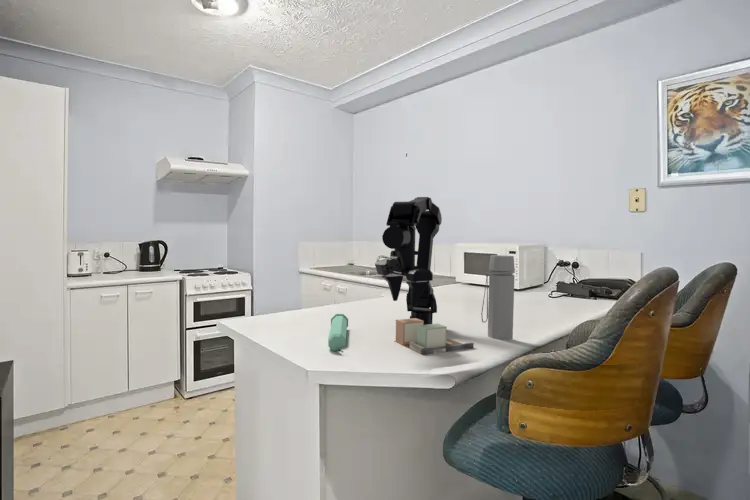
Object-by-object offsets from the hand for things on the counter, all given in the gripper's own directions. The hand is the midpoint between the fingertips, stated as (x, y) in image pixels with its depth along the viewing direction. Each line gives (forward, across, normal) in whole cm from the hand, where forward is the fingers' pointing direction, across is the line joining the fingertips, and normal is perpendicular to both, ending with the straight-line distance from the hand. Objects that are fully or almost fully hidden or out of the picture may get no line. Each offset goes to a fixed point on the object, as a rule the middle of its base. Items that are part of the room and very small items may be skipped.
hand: (404, 303), depth 117 cm
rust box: (+10, +2, +1) cm, 11 cm away
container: (+12, -13, -14) cm, 23 cm away
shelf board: (+12, +6, +5) cm, 14 cm away
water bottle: (+12, +7, +28) cm, 31 cm away
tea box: (+10, +10, +2) cm, 15 cm away
